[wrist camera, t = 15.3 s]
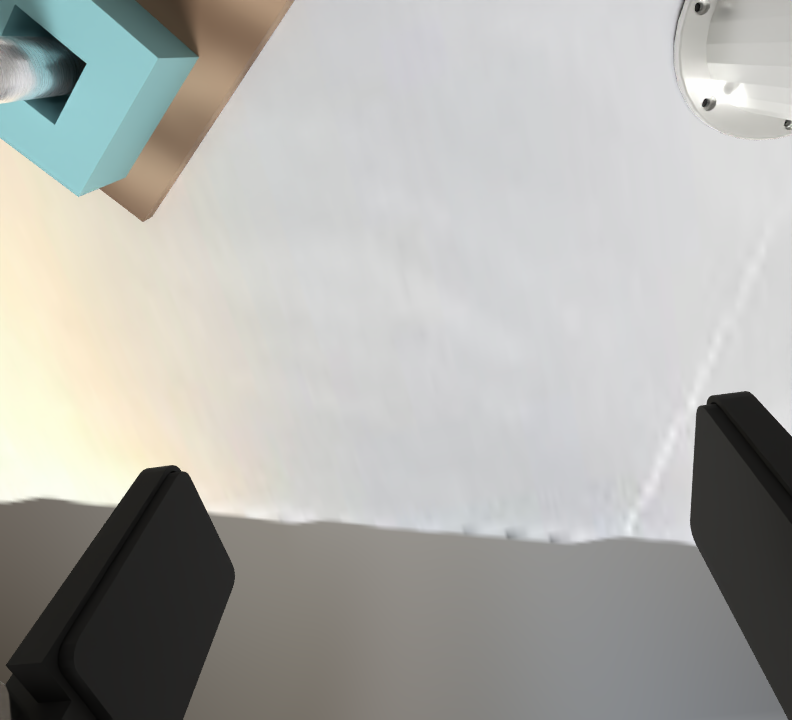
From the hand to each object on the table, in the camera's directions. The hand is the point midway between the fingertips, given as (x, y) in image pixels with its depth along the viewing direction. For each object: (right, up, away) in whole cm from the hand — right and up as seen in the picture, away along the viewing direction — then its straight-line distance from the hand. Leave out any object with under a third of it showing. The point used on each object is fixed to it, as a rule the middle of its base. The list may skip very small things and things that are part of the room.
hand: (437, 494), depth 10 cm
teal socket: (-20, +22, +26) cm, 39 cm away
